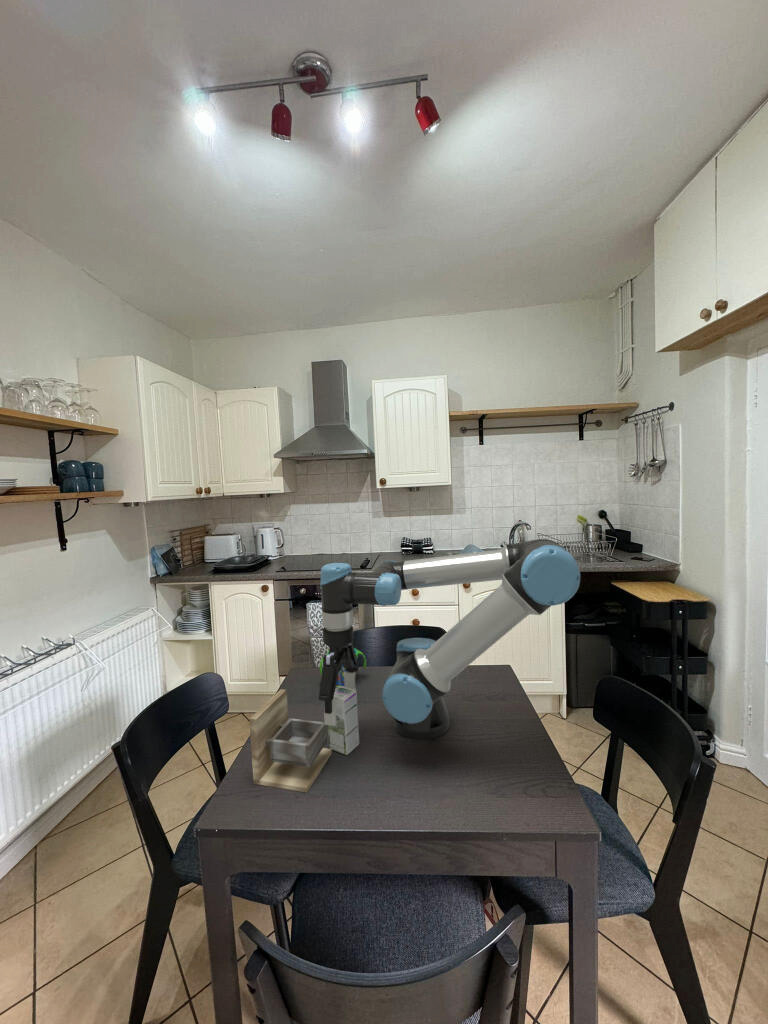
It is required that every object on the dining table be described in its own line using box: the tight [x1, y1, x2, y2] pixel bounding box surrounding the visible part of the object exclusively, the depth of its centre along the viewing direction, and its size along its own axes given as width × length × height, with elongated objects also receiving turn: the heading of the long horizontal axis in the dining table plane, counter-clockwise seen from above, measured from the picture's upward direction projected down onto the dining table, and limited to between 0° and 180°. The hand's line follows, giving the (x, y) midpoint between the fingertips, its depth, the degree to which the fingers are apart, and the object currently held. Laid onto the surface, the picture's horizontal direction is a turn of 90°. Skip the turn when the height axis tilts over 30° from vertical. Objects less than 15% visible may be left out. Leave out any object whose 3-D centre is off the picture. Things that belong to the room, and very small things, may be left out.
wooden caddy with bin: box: [248, 688, 333, 793], centre depth 102 cm, size 13×14×15 cm
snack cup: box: [319, 647, 367, 687], centre depth 145 cm, size 16×10×10 cm
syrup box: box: [327, 685, 360, 756], centre depth 109 cm, size 6×6×14 cm
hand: (341, 709), depth 109 cm, fingers open, 13 cm apart
